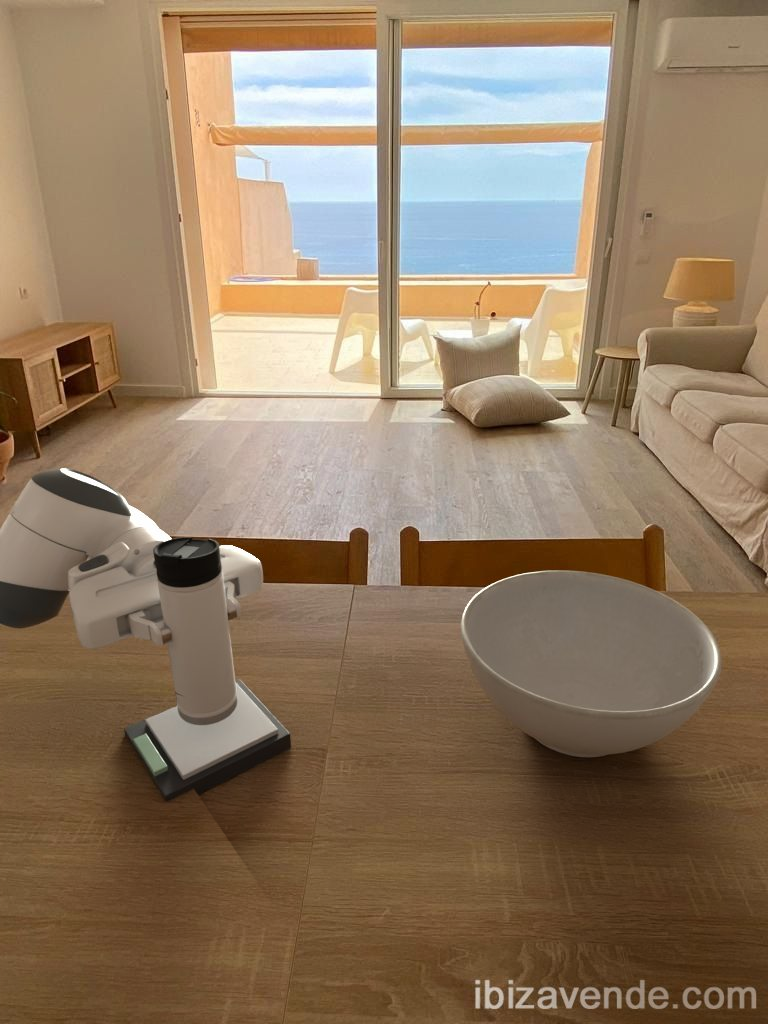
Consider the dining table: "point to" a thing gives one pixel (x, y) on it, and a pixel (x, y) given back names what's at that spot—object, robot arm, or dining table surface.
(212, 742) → the kitchen scale
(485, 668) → the decorative bowl
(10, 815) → the dining table surface
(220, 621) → the travel mug
